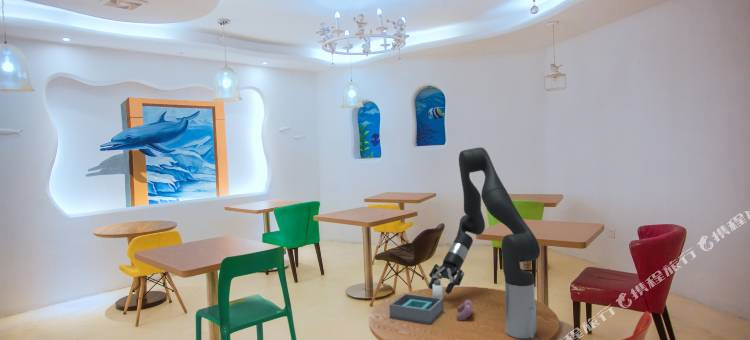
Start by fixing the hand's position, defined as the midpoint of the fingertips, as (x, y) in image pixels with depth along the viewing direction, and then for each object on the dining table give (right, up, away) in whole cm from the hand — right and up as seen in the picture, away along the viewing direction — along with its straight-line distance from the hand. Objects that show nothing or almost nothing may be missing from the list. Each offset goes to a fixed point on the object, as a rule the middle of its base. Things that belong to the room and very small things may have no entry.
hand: (438, 290), depth 176 cm
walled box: (-9, -7, -9) cm, 14 cm away
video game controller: (+8, -7, -12) cm, 16 cm away
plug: (0, -6, 0) cm, 6 cm away
